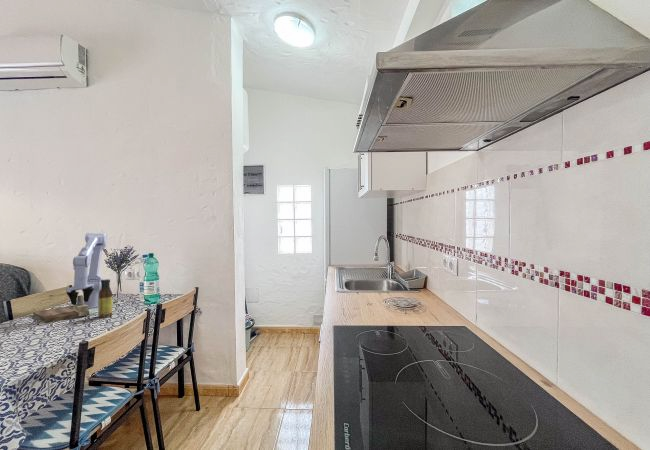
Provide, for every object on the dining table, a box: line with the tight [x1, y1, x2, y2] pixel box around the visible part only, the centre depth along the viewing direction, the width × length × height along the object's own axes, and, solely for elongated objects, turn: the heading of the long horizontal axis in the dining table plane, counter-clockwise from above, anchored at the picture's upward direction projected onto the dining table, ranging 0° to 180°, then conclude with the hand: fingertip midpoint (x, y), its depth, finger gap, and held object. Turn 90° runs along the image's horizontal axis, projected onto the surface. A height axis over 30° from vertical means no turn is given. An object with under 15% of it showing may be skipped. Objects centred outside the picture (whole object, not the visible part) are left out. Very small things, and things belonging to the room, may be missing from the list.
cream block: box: [72, 294, 90, 317], centre depth 169 cm, size 4×9×10 cm, turn 57°
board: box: [32, 305, 90, 323], centre depth 167 cm, size 18×20×2 cm
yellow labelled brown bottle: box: [97, 278, 114, 319], centre depth 168 cm, size 6×6×20 cm
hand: (80, 303), depth 169 cm, fingers open, 6 cm apart
